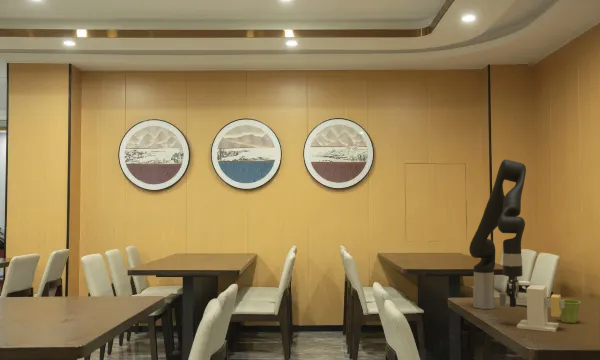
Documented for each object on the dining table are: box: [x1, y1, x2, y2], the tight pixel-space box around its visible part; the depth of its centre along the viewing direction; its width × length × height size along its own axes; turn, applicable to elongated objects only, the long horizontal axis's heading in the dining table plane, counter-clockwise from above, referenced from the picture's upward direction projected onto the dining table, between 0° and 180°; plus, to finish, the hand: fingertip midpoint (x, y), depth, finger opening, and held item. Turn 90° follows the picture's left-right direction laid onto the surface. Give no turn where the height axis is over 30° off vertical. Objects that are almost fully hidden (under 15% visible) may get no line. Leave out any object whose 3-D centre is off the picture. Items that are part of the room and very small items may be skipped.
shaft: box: [499, 292, 566, 309], centre depth 217 cm, size 24×5×5 cm, turn 59°
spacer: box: [550, 294, 562, 318], centre depth 212 cm, size 3×8×8 cm, turn 149°
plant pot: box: [559, 299, 581, 324], centre depth 225 cm, size 9×9×9 cm
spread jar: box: [517, 280, 531, 307], centre depth 263 cm, size 12×11×12 cm
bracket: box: [516, 284, 559, 333], centre depth 216 cm, size 14×13×16 cm
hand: (513, 305), depth 220 cm, fingers closed on shaft, 3 cm apart
